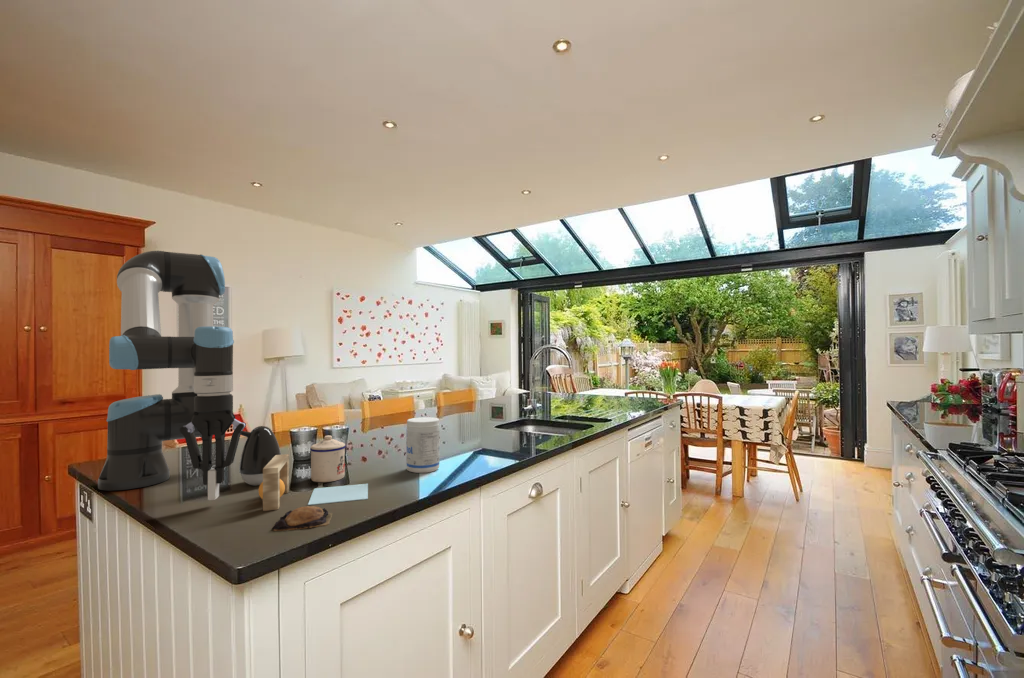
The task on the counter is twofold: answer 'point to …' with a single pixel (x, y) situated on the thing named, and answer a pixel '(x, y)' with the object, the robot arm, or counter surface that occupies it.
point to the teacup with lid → (327, 460)
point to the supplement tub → (422, 444)
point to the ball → (282, 489)
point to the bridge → (275, 481)
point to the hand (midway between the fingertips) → (213, 498)
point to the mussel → (303, 519)
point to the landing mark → (339, 494)
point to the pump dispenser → (257, 454)
